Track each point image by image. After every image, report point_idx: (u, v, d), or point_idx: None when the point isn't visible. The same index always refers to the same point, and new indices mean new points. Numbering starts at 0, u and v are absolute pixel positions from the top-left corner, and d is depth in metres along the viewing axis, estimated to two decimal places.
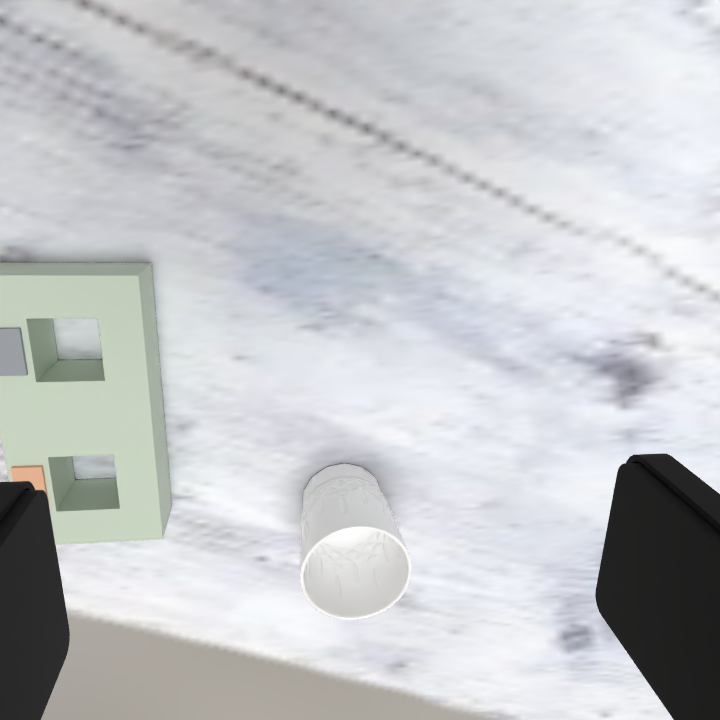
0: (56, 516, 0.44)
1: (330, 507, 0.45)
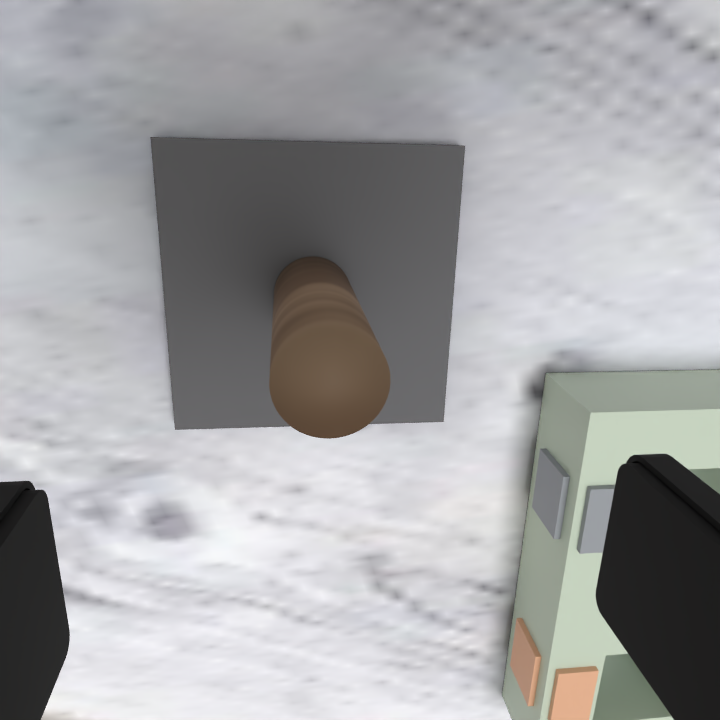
0: None
1: None
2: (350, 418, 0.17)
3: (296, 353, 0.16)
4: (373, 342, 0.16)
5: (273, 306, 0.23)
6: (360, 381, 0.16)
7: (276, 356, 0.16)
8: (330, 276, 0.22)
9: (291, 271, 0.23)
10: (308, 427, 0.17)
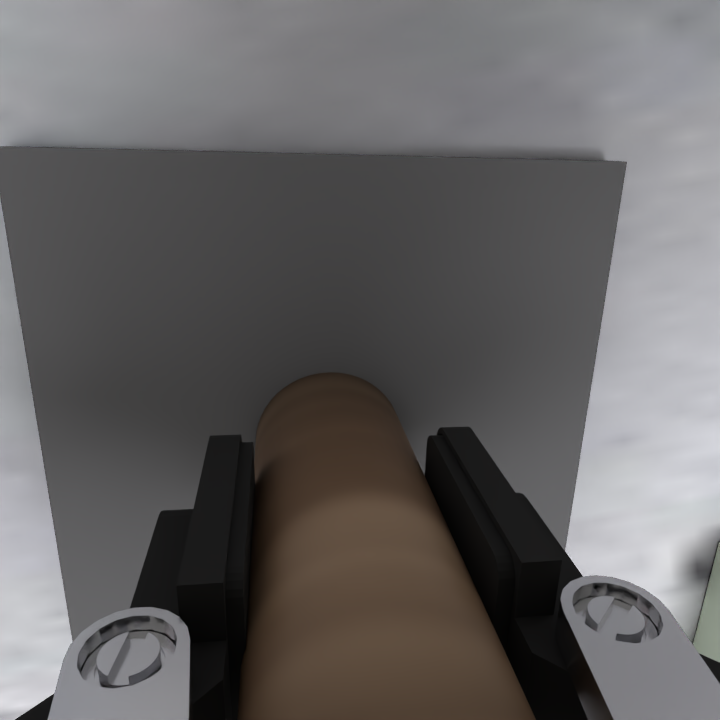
0: None
1: None
2: None
3: None
4: None
5: None
6: None
7: None
8: (377, 453, 0.10)
9: (289, 418, 0.11)
10: None
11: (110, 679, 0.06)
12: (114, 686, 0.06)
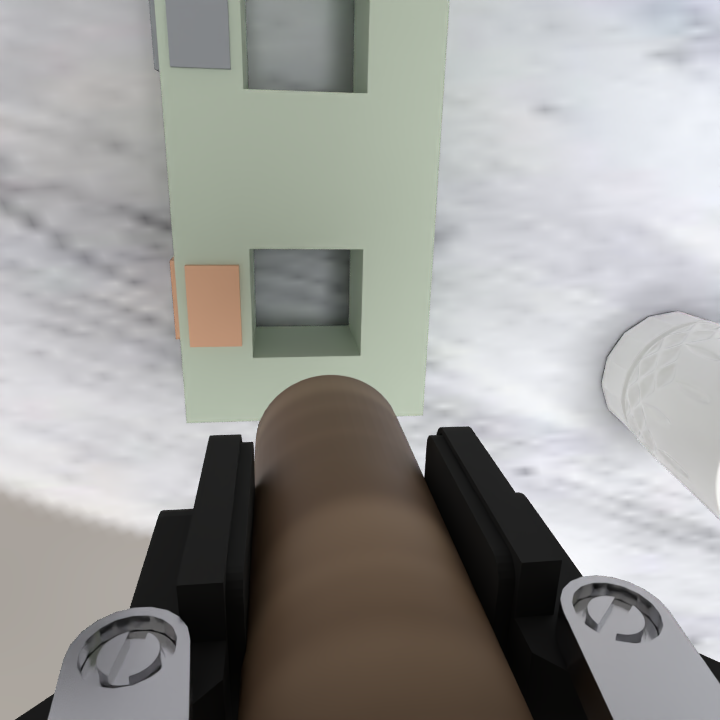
0: (252, 368, 0.25)
1: None
2: None
3: None
4: None
5: None
6: None
7: None
8: (376, 457, 0.10)
9: (289, 421, 0.11)
10: None
11: (110, 679, 0.06)
12: (114, 686, 0.06)
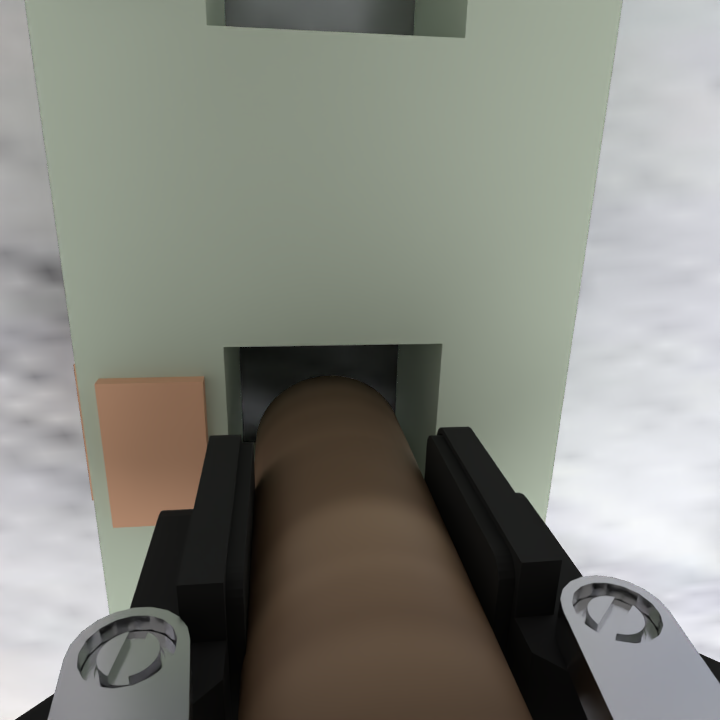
0: None
1: None
2: None
3: None
4: None
5: None
6: None
7: None
8: (376, 457, 0.10)
9: (289, 422, 0.11)
10: None
11: (110, 679, 0.06)
12: (114, 686, 0.06)
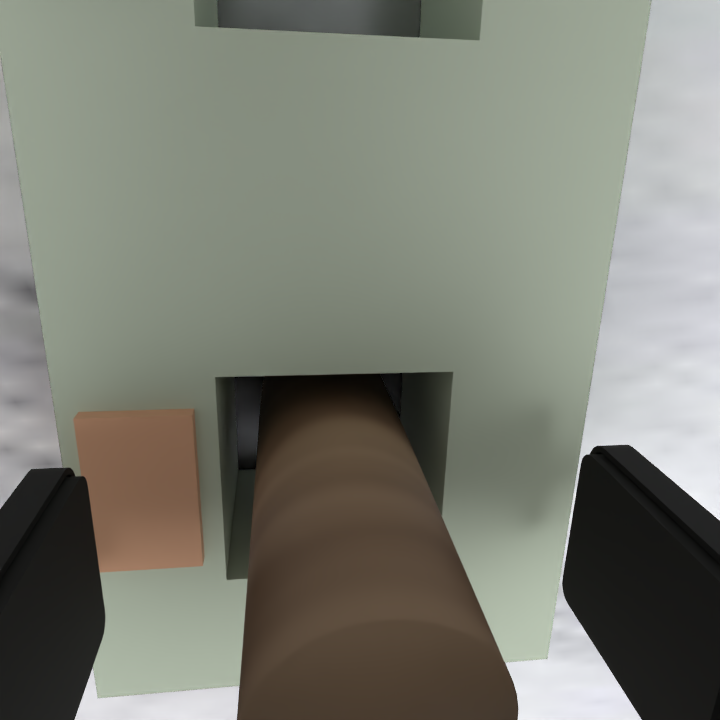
0: (225, 597, 0.13)
1: None
2: None
3: (301, 682, 0.07)
4: (485, 648, 0.07)
5: (258, 435, 0.13)
6: None
7: (252, 688, 0.07)
8: (357, 391, 0.12)
9: None
10: None
11: None
12: None
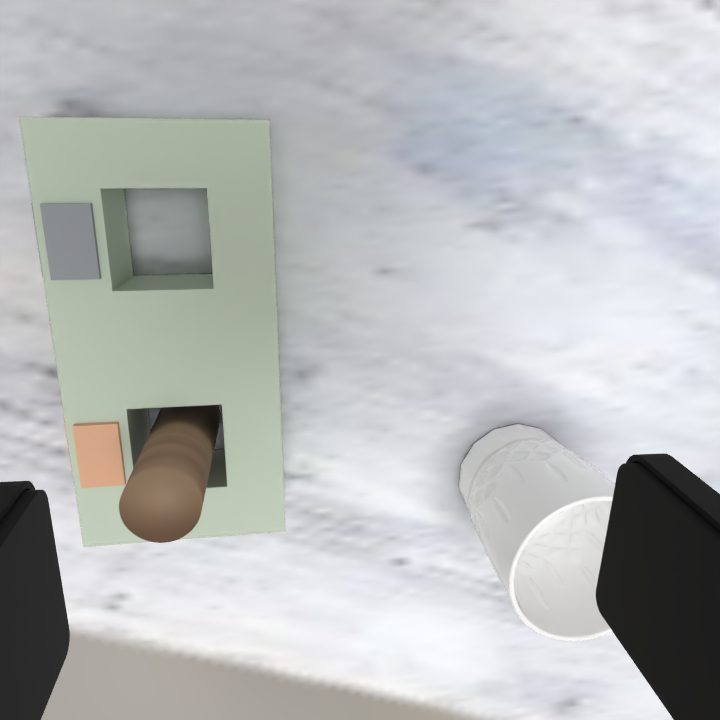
0: None
1: (535, 475, 0.31)
2: (177, 528, 0.25)
3: (135, 490, 0.24)
4: (186, 480, 0.24)
5: None
6: (181, 505, 0.25)
7: (122, 492, 0.24)
8: (189, 412, 0.30)
9: None
10: (148, 536, 0.25)
11: None
12: None
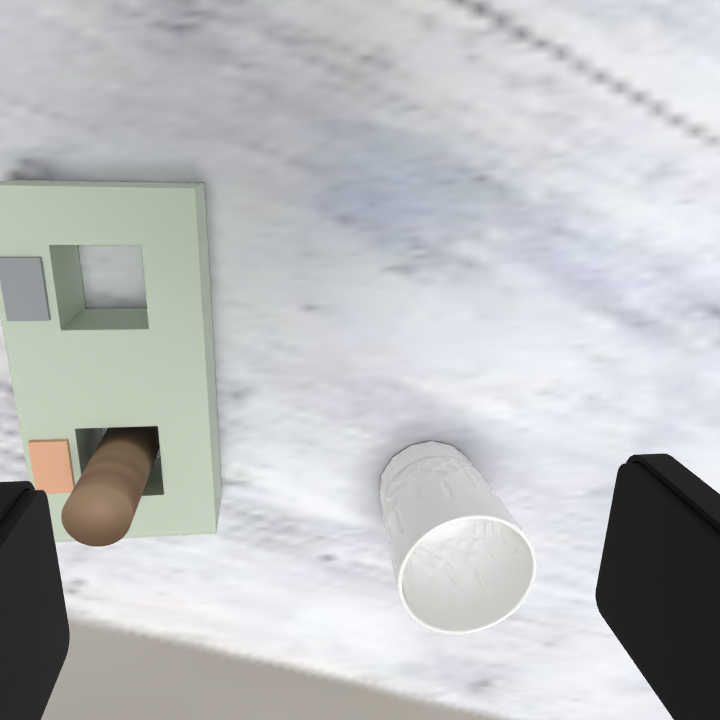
0: None
1: (429, 492, 0.35)
2: (110, 535, 0.30)
3: (75, 503, 0.29)
4: (118, 496, 0.29)
5: None
6: (114, 516, 0.30)
7: (64, 505, 0.29)
8: (131, 431, 0.35)
9: None
10: (86, 541, 0.30)
11: None
12: None
